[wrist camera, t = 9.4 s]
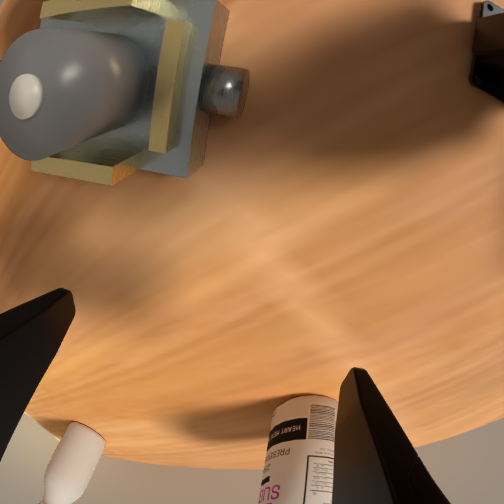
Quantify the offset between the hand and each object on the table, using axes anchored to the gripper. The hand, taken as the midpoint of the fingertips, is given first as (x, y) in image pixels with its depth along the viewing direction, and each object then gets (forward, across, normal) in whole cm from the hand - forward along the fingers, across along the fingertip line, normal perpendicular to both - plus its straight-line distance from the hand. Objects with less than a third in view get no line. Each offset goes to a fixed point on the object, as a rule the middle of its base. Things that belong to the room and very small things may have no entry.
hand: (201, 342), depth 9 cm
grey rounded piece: (+10, +10, -6) cm, 15 cm away
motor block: (+13, +10, -6) cm, 17 cm away
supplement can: (+13, -10, +22) cm, 28 cm away
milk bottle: (+13, +22, +50) cm, 56 cm away
